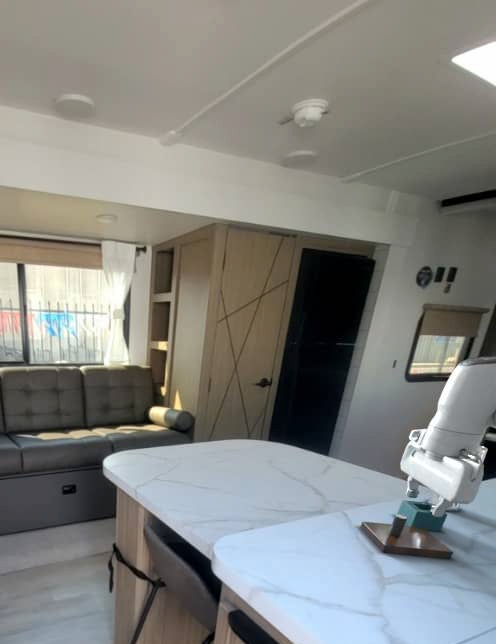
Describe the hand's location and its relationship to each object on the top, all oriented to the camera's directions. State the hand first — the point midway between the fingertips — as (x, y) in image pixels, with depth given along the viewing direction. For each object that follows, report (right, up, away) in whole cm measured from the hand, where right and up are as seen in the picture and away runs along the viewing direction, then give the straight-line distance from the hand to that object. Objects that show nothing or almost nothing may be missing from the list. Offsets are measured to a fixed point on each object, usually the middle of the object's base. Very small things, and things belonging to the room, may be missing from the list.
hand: (422, 505), depth 87 cm
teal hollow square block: (0, -4, +2) cm, 4 cm away
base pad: (-9, -7, -6) cm, 13 cm away
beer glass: (+14, 0, +11) cm, 18 cm away
